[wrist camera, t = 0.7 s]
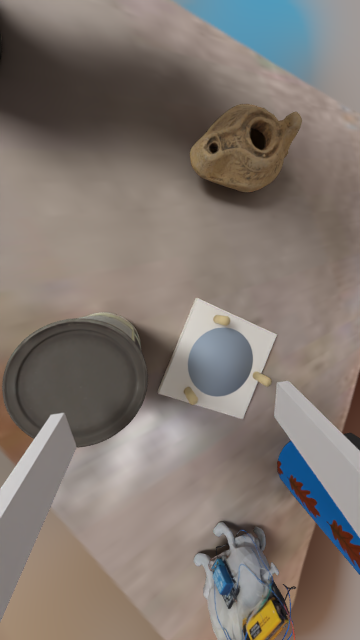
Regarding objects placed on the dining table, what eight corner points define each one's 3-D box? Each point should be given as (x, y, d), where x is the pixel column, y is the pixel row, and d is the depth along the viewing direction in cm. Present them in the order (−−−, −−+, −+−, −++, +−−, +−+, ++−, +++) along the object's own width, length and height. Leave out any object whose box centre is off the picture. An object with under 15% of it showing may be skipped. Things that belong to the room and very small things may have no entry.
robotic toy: (167, 585, 34) (192, 791, 20) (227, 501, 36) (291, 635, 21) (217, 606, 37) (271, 799, 23) (270, 528, 39) (353, 662, 24)
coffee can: (154, 353, 30) (171, 393, 17) (96, 394, 29) (63, 475, 15) (114, 297, 28) (97, 292, 15) (50, 338, 27) (-36, 374, 13)
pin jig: (195, 298, 31) (204, 297, 27) (272, 333, 35) (290, 337, 31) (157, 390, 31) (161, 403, 27) (239, 416, 35) (252, 430, 31)
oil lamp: (172, 153, 29) (186, 97, 21) (250, 115, 31) (290, 53, 23) (207, 222, 31) (232, 195, 23) (278, 182, 33) (323, 145, 25)
